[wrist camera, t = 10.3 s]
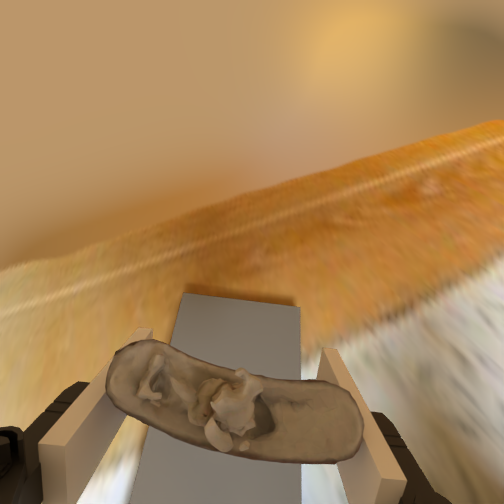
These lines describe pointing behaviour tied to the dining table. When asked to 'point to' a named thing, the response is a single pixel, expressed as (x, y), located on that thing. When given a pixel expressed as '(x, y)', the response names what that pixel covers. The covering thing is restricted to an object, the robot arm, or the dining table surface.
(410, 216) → the dining table surface
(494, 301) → the dining table surface
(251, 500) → the slate board
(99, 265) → the dining table surface
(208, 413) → the flask
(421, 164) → the dining table surface
